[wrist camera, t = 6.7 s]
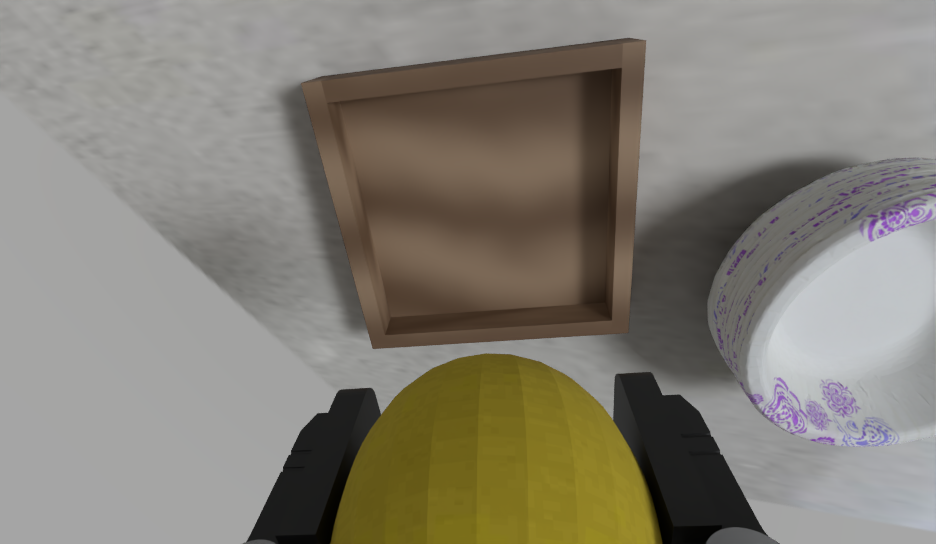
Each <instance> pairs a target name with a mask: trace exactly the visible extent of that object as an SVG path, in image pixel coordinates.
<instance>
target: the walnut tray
mask: <svg viewBox="0 0 936 544" xmlns="http://www.w3.org/2000/svg"><path fill="white" fill-rule="evenodd" d="M645 50H646V40H639V39H633V38H624V39H616V40H608V41H601V42H593V43H585V44H577V45H569V46H561V47H553V48H545V49H537V50H529V51H521V52H513V53H505V54H497V55H489V56H481V57H473V58H465V59H457V60H449V61H441V62H433V63H425V64H417V65H409V66H401V67H393V68H385V69H377V70H369V71H361V72H353V73H345V74H337V75H329V76H321V77H318V78H316V79H313V80H310V81H307V82H304V83H301V85H302V89H303V93H304V96H305V100H306V104H307V108H308V111H309V115H310V119H311V122H312V126H313V130H314V133H315V137H316V141H317V145H318V148H319V152H320V156H321V159H322V163H323V167H324V170H325V174H326V178H327V181H328V185H329V189H330V193H331V196H332V200H333V204H334V207H335V211H336V215H337V218H338V222H339V226H340V230H341V233H342V237H343V241H344V244H345V248H346V252H347V255H348V259H349V263H350V266H351V270H352V274H353V278H354V281H355V285H356V289H357V292H358V296H359V300H360V303H361V307H362V311H363V315H364V318H365V322H366V326H367V329H368V333H369V337H370V340H371V344H372V348H373V349H379V348H395V347H411V346H427V345H443V344H459V343H475V342H492V341H508V340H524V339H540V338H556V337H572V336H588V335H604V334H620V333H628V330H629V314H630V297H631V281H632V265H633V248H634V232H635V215H636V199H637V182H638V166H639V149H640V133H641V116H642V100H643V83H644V67H645Z"/></svg>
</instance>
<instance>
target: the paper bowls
mask: <svg viewBox="0 0 936 544" xmlns="http://www.w3.org/2000/svg"><path fill="white" fill-rule="evenodd" d="M707 307H708V308H707V310H708V325H709V328H710V332H711V334H712V337H713V339H714V342H715V344H716V346H717V348H718V350H719V352H720V354H721V355H722V357H723V358H724V360H725V362H726V363H727V365H728V367H729V368H730V370H731V371H732V372H733V374H734V375H735V377H736V379H737V381H738V382H739V384H740V385H741V387H742V389H743V390H744V392H745V394H746V395H747V396H748V397H749V399H750V401H751V402H752V404H753V405H754V406H755V408H756V409H757V410H758V411H759V412H760V413H761V414H762V415H763V416H764V417H765V418H767V419H768V420H769V421H771V422H772V423H774V424H775V425H776V426H778V427H780V428H781V429H783V430H785V431H787V432H789V433H791V434H793V435H797V436H799V437H802V438H805V439H808V440H812V441H815V442H818V443H824V444H829V445H837V446H853V447H869V446H884V445H892V444H899V443H905V442H911V441H916V440H921V439H925V438H930V437H933V436H936V159H928V158H896V159H887V160H882V161H877V162H872V163H866V164H861V165H857V166H853V167H849V168H845V169H842V170H839V171H836V172H833V173H831V174H829V175H826V176H824V177H822V178H820V179H818V180H815V181H814V182H812V183H810V184H809V185H807V186H805V187H802V188H800V189H798V190H797V191H795V192H793V193H791V194H790V195H788V196H786V197H785V198H783V199H782V200H781V201H779V202H778V203H777V204H776V205H774V206H773V207H771V208H770V209H768V210H767V211H766V212H765V213H763V214H762V215H761V216H760V217H759V218H758V219H757V220H755V221H754V222H753V223H752V224H751V225H750V226H749V227H748V228H747V229H746V231H745V232H744V233H743V234H742V235H741V236H740V238H739V239H738V240H737V241H736V242H735V243H734V245H733V246H732V248H731V249H730V250H729V252H728V253H727V256H726V257H725V259H724V260H723V262H722V263H721V265H720V268H719V269H718V271H717V273H716V275H715V278H714V280H713V284H712V288H711V290H710V294H709V298H708V301H707Z"/></svg>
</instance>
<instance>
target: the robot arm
mask: <svg viewBox="0 0 936 544" xmlns="http://www.w3.org/2000/svg"><path fill="white" fill-rule="evenodd" d="M380 416H381V413H380V410H379V406H378V402H377V399H376V395H375V392H374V390H373V389H372V388H360V389H343V390H339V391H338V392H337V394H336V396H335V398H334V401H333V403H332V405H331V408H330V410H329V412H328V413H318V414H317V415H316V416H315V417H314V418H313V419H312V420H311V421H310V422H309V423H308V424H307V425H306V426H305V427H304V428H303V429H302V430H301V432H300V434H299V436H298V438H297V440H296V442H295V444H294V446H293V448H292V450H291V455H289V456H288V458H287V461H286V462H285V464H284V466H283V472H281V473H280V475H279V477H278V479H277V481H276V483H275V485H274V487H273V489H272V491H271V493H270V495H269V497H268V499H267V502H266V504H265V506H264V508H263V510H262V512H261V514H260V516H259V518H258V520H257V522H256V524H255V527H254V529H253V530H252V532H251V535H250V536H249V538H248V540H247V542H246V543H243V544H330V543H331V538H332V533H333V528H334V523H335V519H336V516H337V512H338V508H339V504H340V501H341V498H342V495H343V492H344V489H345V485H346V482H347V479H348V476H349V474H350V471H351V468H352V465H353V462H354V460H355V458H356V456H357V453H358V451H359V449H360V447H361V445H362V443H363V441H364V439H365V438H366V436H367V434H368V433H369V431H370V429H371V428H372V427H373V425H374V424H375V422H376V421H377V420H378V418H379V417H380ZM613 421H614V423H615V424H616V426H617V428H618V429H619V431H620V432H621V434H622V435H623V437H624V439H625V440H626V442H627V443H628V445H629V447H630V448H631V450H632V452H633V454H634V455H635V457H636V459H637V461H638V463H639V465H640V468H641V470H642V472H643V474H644V476H645V479H646V482H647V485H648V487H649V490H650V493H651V496H652V499H653V503H654V506H655V510H656V514H657V518H658V523H659V528H660V533H661V538H662V543H663V544H780V543H778V542H777V541H775V540H773V539H772V538H770V537H768V535H767V534H766V533H765V532H764V530H763V529H762V527H761V525H760V524H759V522H758V520H757V519H756V517H755V515H754V513H753V511H752V509H751V507H750V505H749V503H748V502H747V500H746V498H745V496H744V494H743V492H742V490H741V489H740V487H739V485H738V483H737V481H736V479H735V477H734V476H733V474H732V472H731V470H730V468H729V466H728V464H727V463H726V461H725V459H724V457H723V455H721V454H720V450H719V448H718V446H717V444H716V442H715V440H714V438H713V437H711V435H710V431H709V429H708V427H707V425H706V423H705V422H704V420H703V418H702V416H701V414H700V412H699V411H698V410H697V409H696V408H694V407H693V406H692V405H691V404H690V403H689V402H688V401H686V400H685V399H684V398H683V397H682V396H681V395H662V393H661V391H660V389H659V386H658V384H657V382H656V380H655V378H654V376H653V374H652V373H651V372H642V373H625V374H616V376H615V385H614V416H613Z"/></svg>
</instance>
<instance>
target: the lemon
mask: <svg viewBox="0 0 936 544" xmlns="http://www.w3.org/2000/svg"><path fill="white" fill-rule="evenodd" d="M330 544H663V543H662V538H661V533H660V528H659V523H658V518H657V514H656V510H655V506H654V503H653V499H652V496H651V493H650V490H649V487H648V485H647V482H646V479H645V476H644V474H643V472H642V470H641V468H640V465H639V463H638V461H637V459H636V457H635V455H634V454H633V452H632V450H631V448H630V447H629V445H628V443H627V442H626V440H625V439H624V437H623V435H622V434H621V432H620V431H619V429H618V428H617V426H616V424H615V423H614V421H613V420H612V418H611V417H610V416H609V414H608V413H607V412H606V410H605V409H604V407H603V406H602V405H601V404H600V403H599V402H598V401H597V400H596V399H595V398H594V397H593V396H591V395H590V394H589V393H588V392H587V391H586V390H584V389H583V388H582V387H581V386H580V385H579V384H577V383H576V382H575V381H574V380H573V379H571V378H570V377H568V376H567V375H565V374H563V373H561V372H559V371H557V370H555V369H553V368H551V367H549V366H547V365H545V364H544V363H542V362H539V361H535V360H531V359H527V358H523V357H519V356H515V355H510V354H480V355H474V356H468V357H462V358H457V359H455V360H452V361H450V362H447V363H445V364H442V365H440V366H437V367H435V368H432V369H431V370H429V371H428V372H426V373H425V374H423V375H422V376H421V377H419V378H418V379H416V380H415V381H414V382H412V383H411V384H410V385H408V386H407V387H405V388H404V389H403V390H402V391H401V392H400V393H399V394H398V395H397V396H396V397H395V398H394V399H393V400H392V402H391V403H390V404H389V406H388V407H387V408H386V409H385V411H384V412H383V413H382V414H381V416H380V417H379V418H378V420H377V421H376V422H375V424H374V425H373V427H372V428H371V429H370V431H369V433H368V434H367V436H366V438H365V439H364V441H363V443H362V445H361V447H360V449H359V451H358V453H357V456H356V458H355V460H354V462H353V465H352V468H351V471H350V474H349V476H348V479H347V482H346V485H345V489H344V492H343V495H342V498H341V501H340V504H339V508H338V512H337V516H336V519H335V523H334V528H333V533H332V538H331V543H330Z"/></svg>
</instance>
